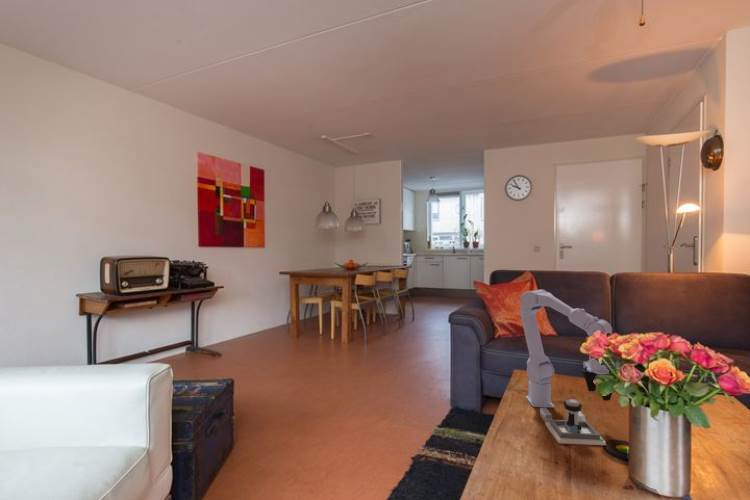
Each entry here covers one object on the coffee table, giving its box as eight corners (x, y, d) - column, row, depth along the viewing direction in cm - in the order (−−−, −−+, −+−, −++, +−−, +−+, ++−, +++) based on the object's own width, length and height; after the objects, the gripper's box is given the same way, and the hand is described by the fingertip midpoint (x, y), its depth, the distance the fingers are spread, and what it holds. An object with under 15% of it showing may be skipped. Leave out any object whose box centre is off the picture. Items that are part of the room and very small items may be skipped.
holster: (540, 415, 138) (540, 407, 138) (578, 417, 137) (578, 408, 137) (546, 423, 132) (546, 415, 132) (585, 425, 131) (585, 416, 131)
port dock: (545, 425, 131) (545, 417, 131) (588, 426, 130) (588, 419, 130) (558, 443, 120) (558, 435, 119) (605, 445, 118) (605, 437, 118)
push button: (589, 435, 122) (589, 404, 122) (576, 438, 120) (576, 407, 120) (572, 426, 128) (572, 396, 128) (559, 428, 127) (559, 399, 126)
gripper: (575, 350, 137) (575, 387, 138) (602, 363, 123) (601, 404, 123) (594, 349, 138) (593, 387, 138) (622, 362, 123) (622, 404, 124)
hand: (598, 395), depth 131 cm, fingers open, 7 cm apart
